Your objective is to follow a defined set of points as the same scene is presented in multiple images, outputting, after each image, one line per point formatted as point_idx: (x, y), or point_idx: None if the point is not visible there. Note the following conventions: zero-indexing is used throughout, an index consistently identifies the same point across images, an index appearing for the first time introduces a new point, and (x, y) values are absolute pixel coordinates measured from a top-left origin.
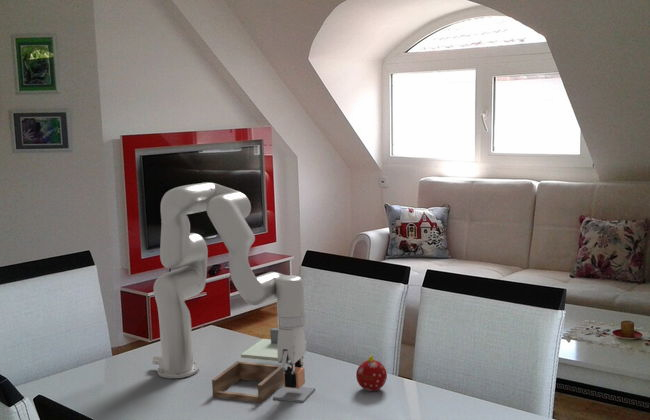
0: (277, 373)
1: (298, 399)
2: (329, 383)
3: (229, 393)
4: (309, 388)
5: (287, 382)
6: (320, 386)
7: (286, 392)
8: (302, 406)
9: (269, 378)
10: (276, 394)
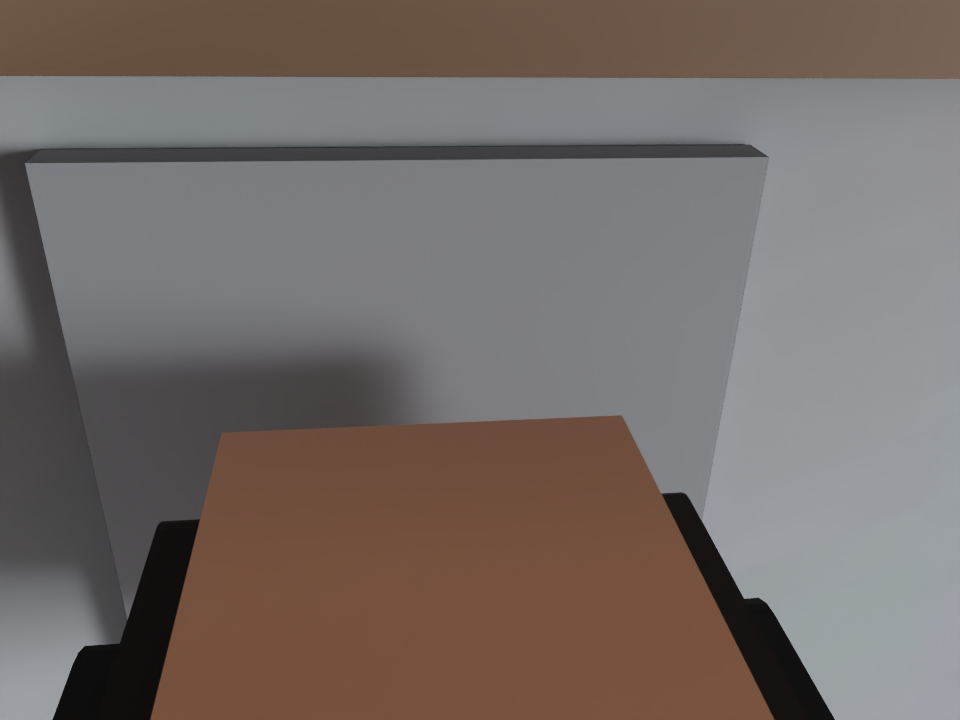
0: (812, 67)
1: None
2: (931, 692)
3: None
4: None
5: (68, 709)
6: (817, 640)
7: (370, 333)
8: (15, 713)
9: (63, 70)
10: (194, 174)
